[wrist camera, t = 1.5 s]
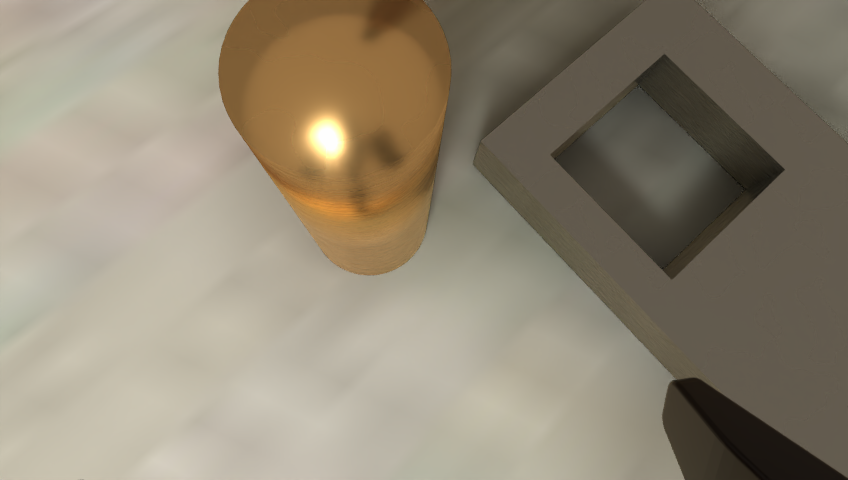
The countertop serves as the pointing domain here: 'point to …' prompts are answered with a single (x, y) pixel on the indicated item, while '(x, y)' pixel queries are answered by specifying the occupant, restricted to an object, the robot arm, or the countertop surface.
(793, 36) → the countertop surface
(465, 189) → the countertop surface
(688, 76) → the plate
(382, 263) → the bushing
